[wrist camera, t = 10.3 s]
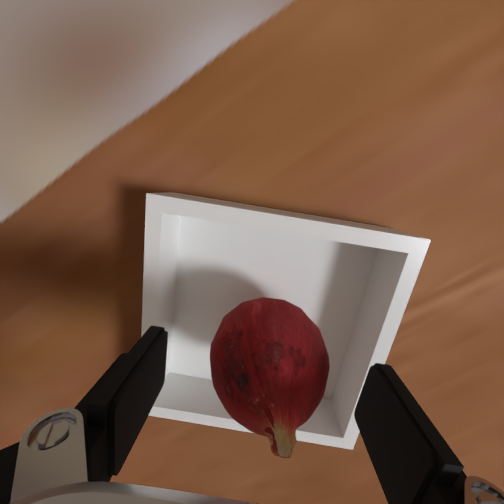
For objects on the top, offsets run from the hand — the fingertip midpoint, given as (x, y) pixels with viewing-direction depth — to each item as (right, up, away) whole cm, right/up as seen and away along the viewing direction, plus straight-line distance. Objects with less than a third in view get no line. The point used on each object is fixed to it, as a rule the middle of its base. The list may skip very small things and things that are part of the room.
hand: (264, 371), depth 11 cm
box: (0, +2, +6) cm, 6 cm away
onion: (0, +1, +5) cm, 5 cm away
